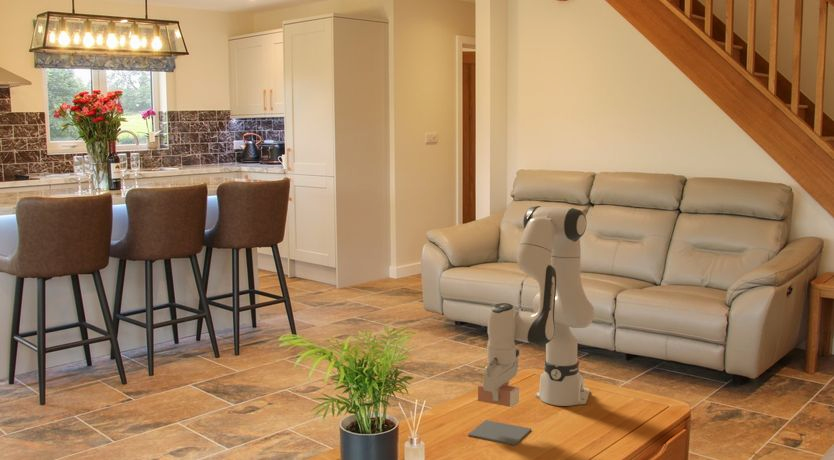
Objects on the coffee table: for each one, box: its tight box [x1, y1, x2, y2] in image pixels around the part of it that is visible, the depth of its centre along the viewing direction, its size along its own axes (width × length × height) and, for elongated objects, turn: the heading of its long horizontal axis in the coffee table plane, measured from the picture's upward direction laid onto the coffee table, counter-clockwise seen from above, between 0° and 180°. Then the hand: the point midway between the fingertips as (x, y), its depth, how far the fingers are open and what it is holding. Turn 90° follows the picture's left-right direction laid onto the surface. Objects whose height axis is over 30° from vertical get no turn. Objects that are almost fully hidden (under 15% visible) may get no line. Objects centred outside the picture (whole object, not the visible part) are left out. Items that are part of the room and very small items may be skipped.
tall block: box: [477, 382, 520, 408], centre depth 253 cm, size 5×5×12 cm
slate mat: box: [467, 419, 532, 446], centre depth 255 cm, size 14×16×1 cm
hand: (500, 397), depth 253 cm, fingers closed on tall block, 5 cm apart
